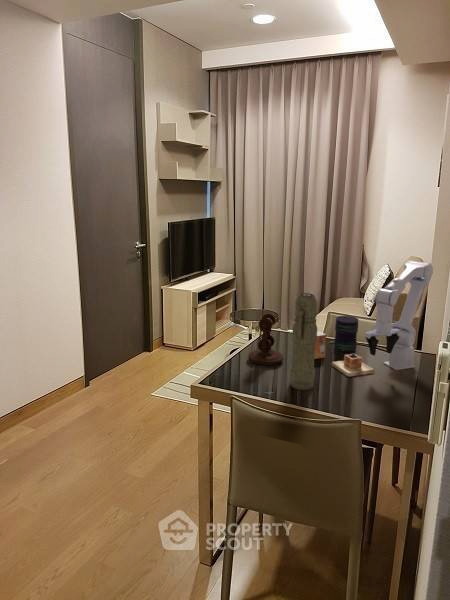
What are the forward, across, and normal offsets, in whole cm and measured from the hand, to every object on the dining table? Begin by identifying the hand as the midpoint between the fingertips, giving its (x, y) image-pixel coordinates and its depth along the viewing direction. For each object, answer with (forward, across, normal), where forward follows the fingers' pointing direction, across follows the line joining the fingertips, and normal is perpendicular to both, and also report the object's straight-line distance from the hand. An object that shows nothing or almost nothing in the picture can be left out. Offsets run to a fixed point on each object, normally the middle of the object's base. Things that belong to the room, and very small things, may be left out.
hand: (380, 353), depth 182 cm
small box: (+10, -14, +26) cm, 31 cm away
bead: (+8, -6, +9) cm, 13 cm away
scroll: (+10, -36, +28) cm, 47 cm away
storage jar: (+10, +3, +28) cm, 30 cm away
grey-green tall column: (+10, -33, +2) cm, 34 cm away
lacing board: (+9, -6, +9) cm, 14 cm away
